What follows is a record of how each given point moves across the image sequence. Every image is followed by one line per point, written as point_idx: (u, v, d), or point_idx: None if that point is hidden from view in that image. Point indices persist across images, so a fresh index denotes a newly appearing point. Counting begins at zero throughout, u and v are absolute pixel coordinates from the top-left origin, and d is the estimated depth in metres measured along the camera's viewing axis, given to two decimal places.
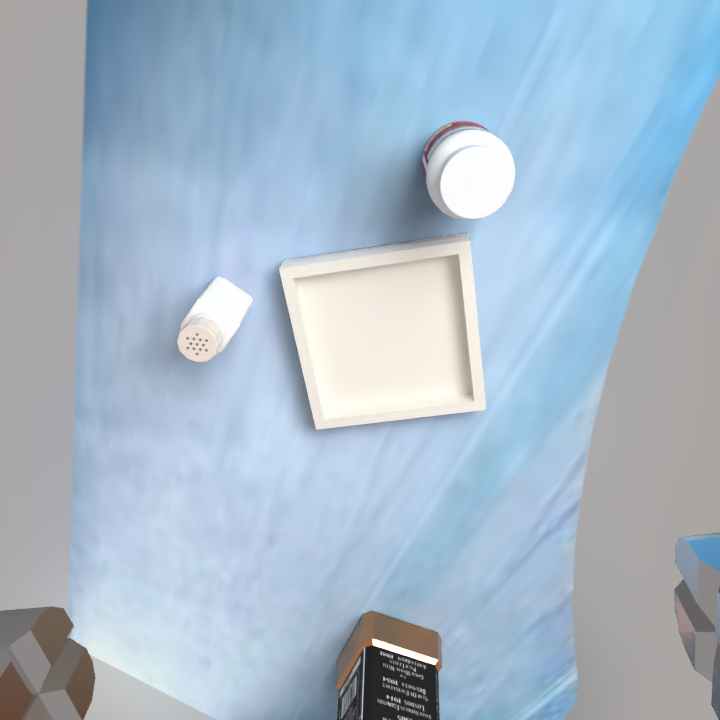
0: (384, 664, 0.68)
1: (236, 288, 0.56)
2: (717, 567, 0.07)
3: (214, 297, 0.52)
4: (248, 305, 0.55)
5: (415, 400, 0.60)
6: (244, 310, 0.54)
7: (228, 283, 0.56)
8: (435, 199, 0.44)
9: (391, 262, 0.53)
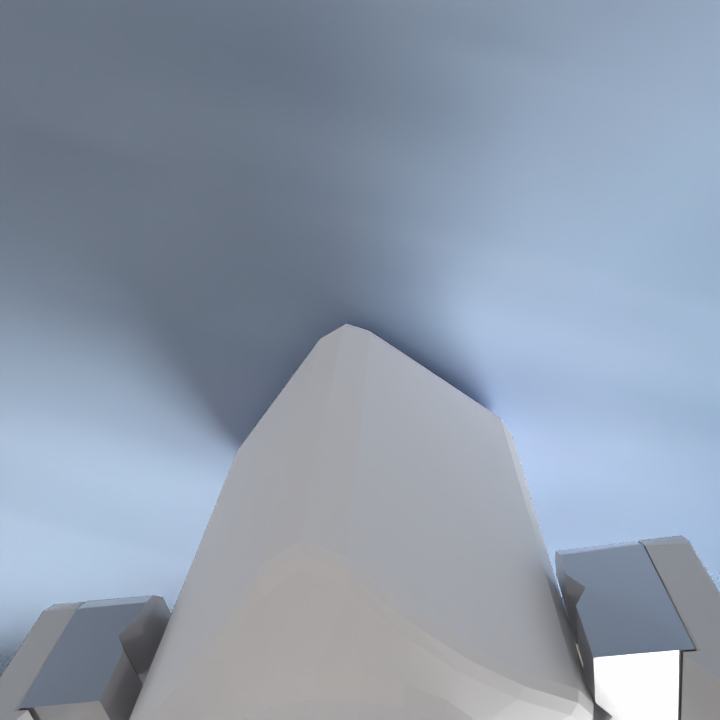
0: None
1: None
2: (581, 581, 0.07)
3: None
4: None
5: None
6: None
7: None
8: None
9: None
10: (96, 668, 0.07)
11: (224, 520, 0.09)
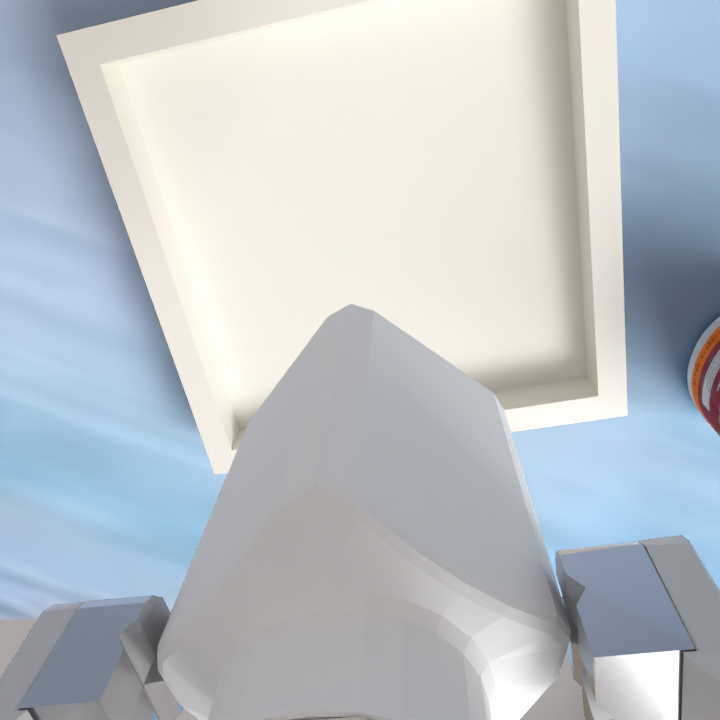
0: None
1: None
2: (581, 581, 0.07)
3: None
4: None
5: (201, 311, 0.24)
6: None
7: None
8: None
9: (594, 248, 0.21)
10: (96, 668, 0.07)
11: (240, 477, 0.10)
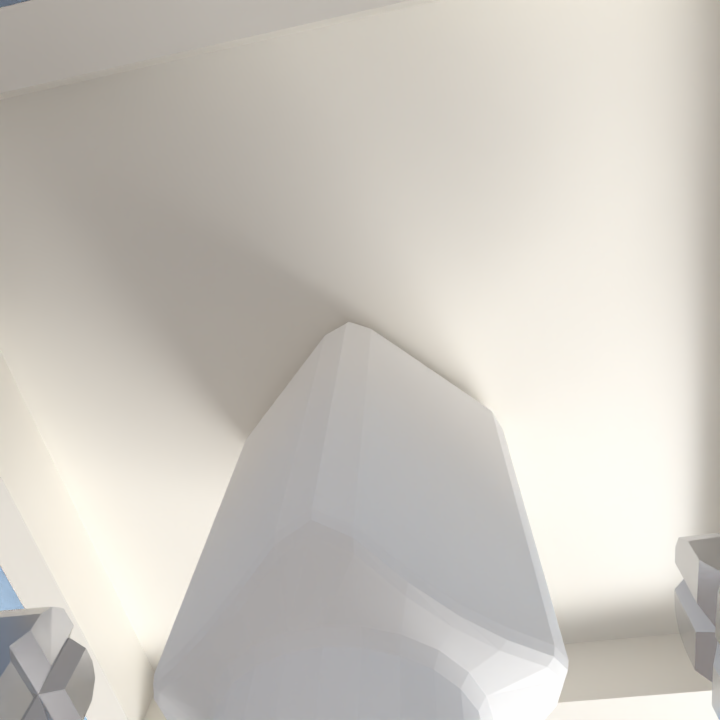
0: None
1: None
2: (717, 567, 0.07)
3: None
4: None
5: (82, 522, 0.14)
6: None
7: None
8: None
9: None
10: None
11: (237, 500, 0.10)
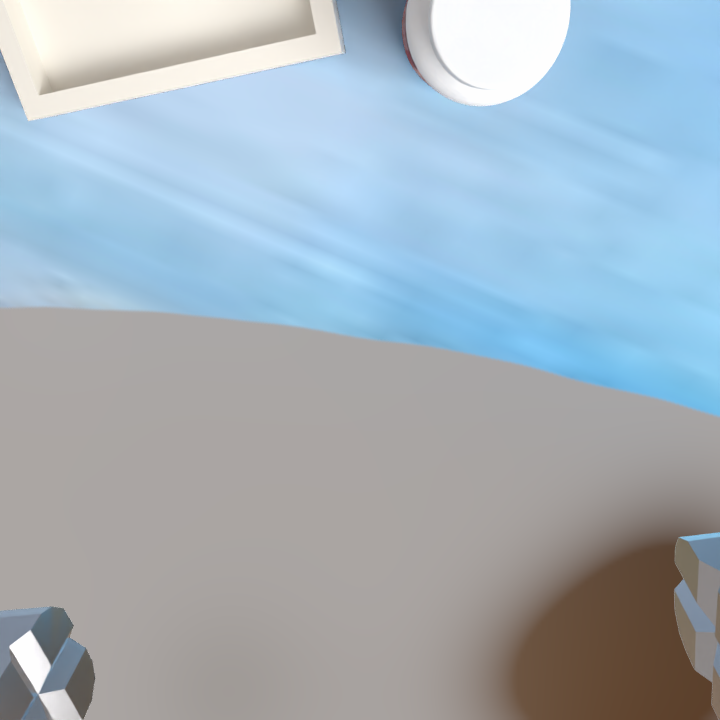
0: None
1: None
2: (717, 567, 0.07)
3: None
4: None
5: None
6: None
7: None
8: None
9: None
10: None
11: None
